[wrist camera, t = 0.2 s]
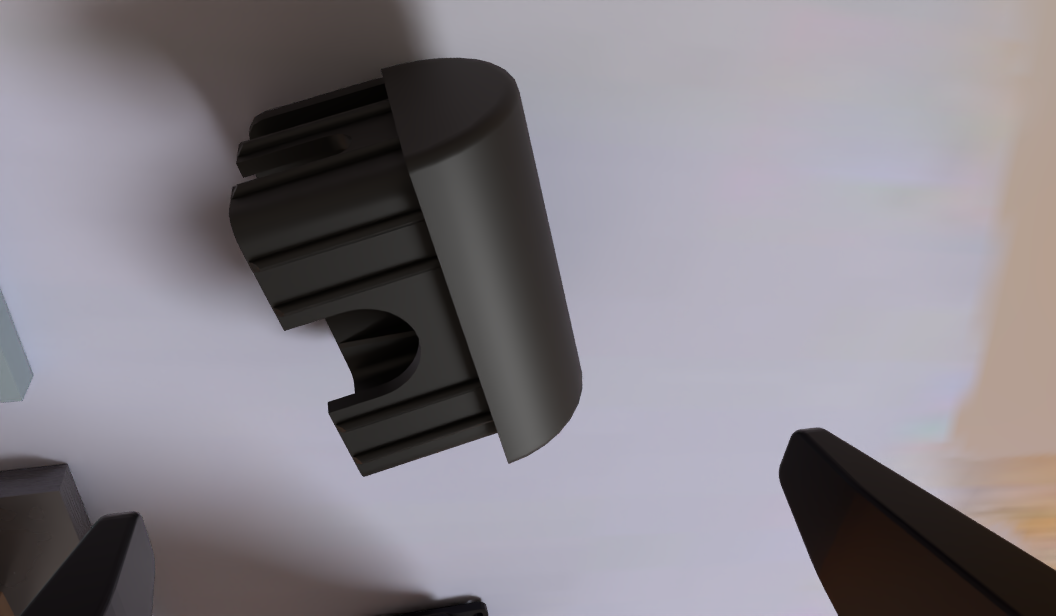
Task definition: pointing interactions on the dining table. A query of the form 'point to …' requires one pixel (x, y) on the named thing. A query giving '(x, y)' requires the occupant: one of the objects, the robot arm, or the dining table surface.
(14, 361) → the grey peg base
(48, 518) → the stand
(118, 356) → the dining table surface
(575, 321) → the dining table surface
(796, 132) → the dining table surface
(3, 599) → the sleeve
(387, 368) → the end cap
